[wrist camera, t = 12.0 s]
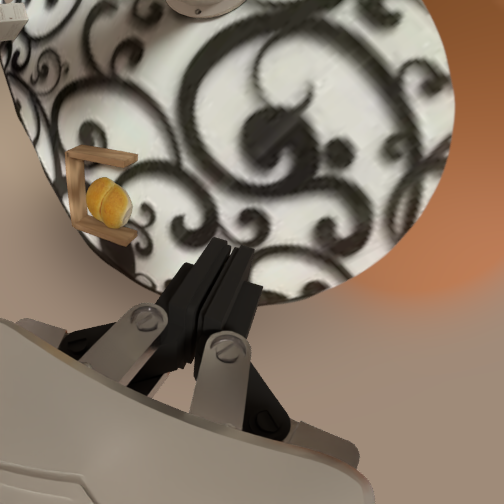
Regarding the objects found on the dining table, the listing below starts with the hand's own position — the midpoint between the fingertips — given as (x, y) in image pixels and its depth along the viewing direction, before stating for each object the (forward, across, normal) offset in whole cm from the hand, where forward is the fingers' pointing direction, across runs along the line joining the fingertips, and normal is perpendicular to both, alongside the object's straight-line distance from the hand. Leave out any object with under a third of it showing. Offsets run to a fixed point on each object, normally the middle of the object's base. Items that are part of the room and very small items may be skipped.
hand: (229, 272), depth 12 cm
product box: (+27, +57, -19) cm, 66 cm away
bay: (+27, +28, +14) cm, 41 cm away
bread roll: (+28, +27, +16) cm, 42 cm away
